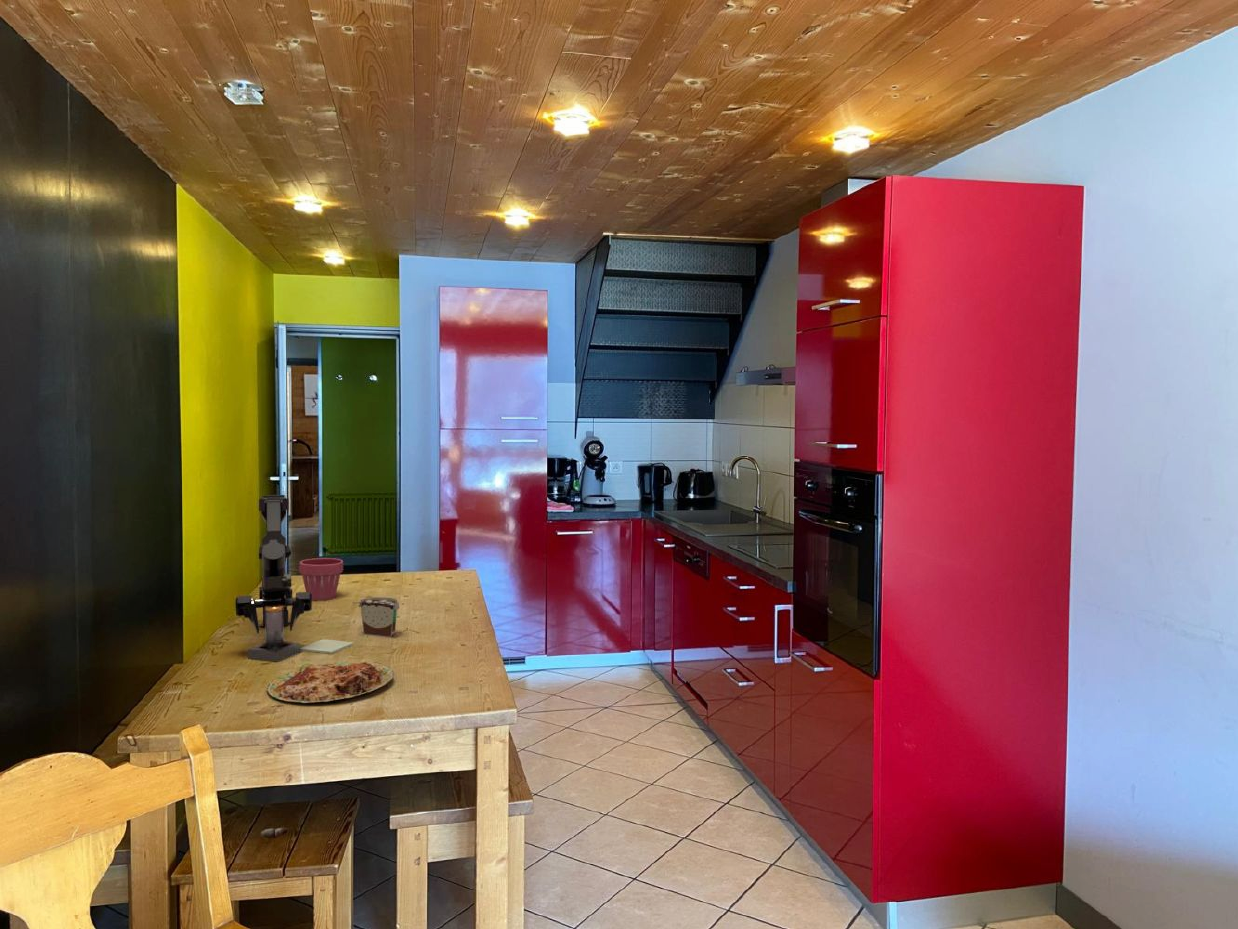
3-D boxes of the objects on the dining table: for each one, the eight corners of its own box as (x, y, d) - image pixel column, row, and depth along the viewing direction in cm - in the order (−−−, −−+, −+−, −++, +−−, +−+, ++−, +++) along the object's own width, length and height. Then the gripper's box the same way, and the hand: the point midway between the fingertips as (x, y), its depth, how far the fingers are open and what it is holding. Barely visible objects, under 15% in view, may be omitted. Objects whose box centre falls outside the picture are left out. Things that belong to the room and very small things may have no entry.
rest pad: (299, 650, 227) (299, 648, 227) (322, 641, 237) (322, 639, 237) (331, 654, 224) (331, 651, 224) (354, 644, 234) (354, 642, 234)
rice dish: (268, 718, 181) (268, 694, 180) (265, 676, 206) (265, 654, 205) (402, 702, 192) (403, 679, 191) (384, 663, 217) (384, 643, 217)
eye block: (248, 658, 220) (248, 649, 219) (272, 649, 228) (272, 640, 228) (277, 661, 217) (277, 652, 217) (300, 652, 226) (300, 643, 225)
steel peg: (261, 657, 221) (261, 607, 220) (273, 652, 225) (272, 603, 225) (276, 658, 220) (275, 608, 219) (287, 654, 224) (287, 605, 223)
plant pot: (352, 597, 294) (352, 560, 293) (318, 604, 282) (317, 566, 282) (324, 592, 302) (324, 556, 301) (290, 599, 290) (290, 561, 289)
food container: (408, 633, 247) (408, 599, 246) (395, 638, 241) (395, 603, 241) (371, 629, 251) (371, 595, 250) (359, 634, 245) (358, 599, 245)
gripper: (235, 565, 222) (233, 617, 212) (311, 562, 229) (313, 611, 219) (236, 590, 230) (235, 640, 220) (310, 585, 237) (312, 634, 227)
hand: (274, 631), depth 222 cm, fingers open, 8 cm apart
